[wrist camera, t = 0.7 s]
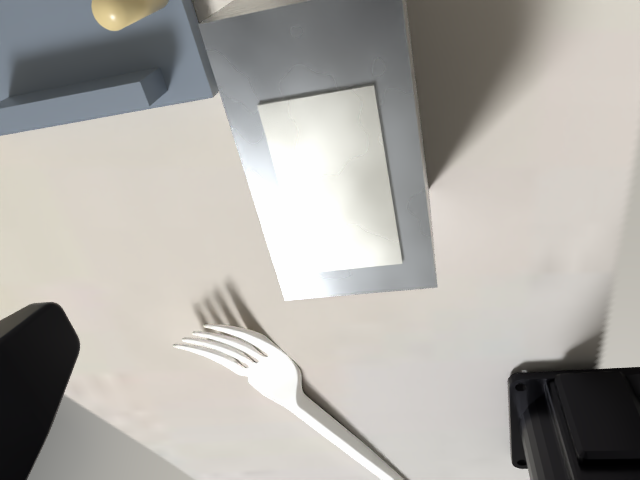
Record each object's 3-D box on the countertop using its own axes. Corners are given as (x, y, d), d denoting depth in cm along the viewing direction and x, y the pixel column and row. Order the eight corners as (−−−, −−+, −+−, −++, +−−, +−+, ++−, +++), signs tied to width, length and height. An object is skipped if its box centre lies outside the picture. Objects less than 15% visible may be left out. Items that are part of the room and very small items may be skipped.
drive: (428, 188, 20) (437, 289, 15) (312, 203, 21) (284, 302, 16) (400, -49, 16) (399, -19, 11) (258, -16, 17) (196, 25, 12)
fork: (422, 516, 33) (423, 547, 32) (179, 321, 26) (165, 350, 24) (468, 502, 32) (471, 534, 30) (223, 292, 24) (211, 320, 23)
